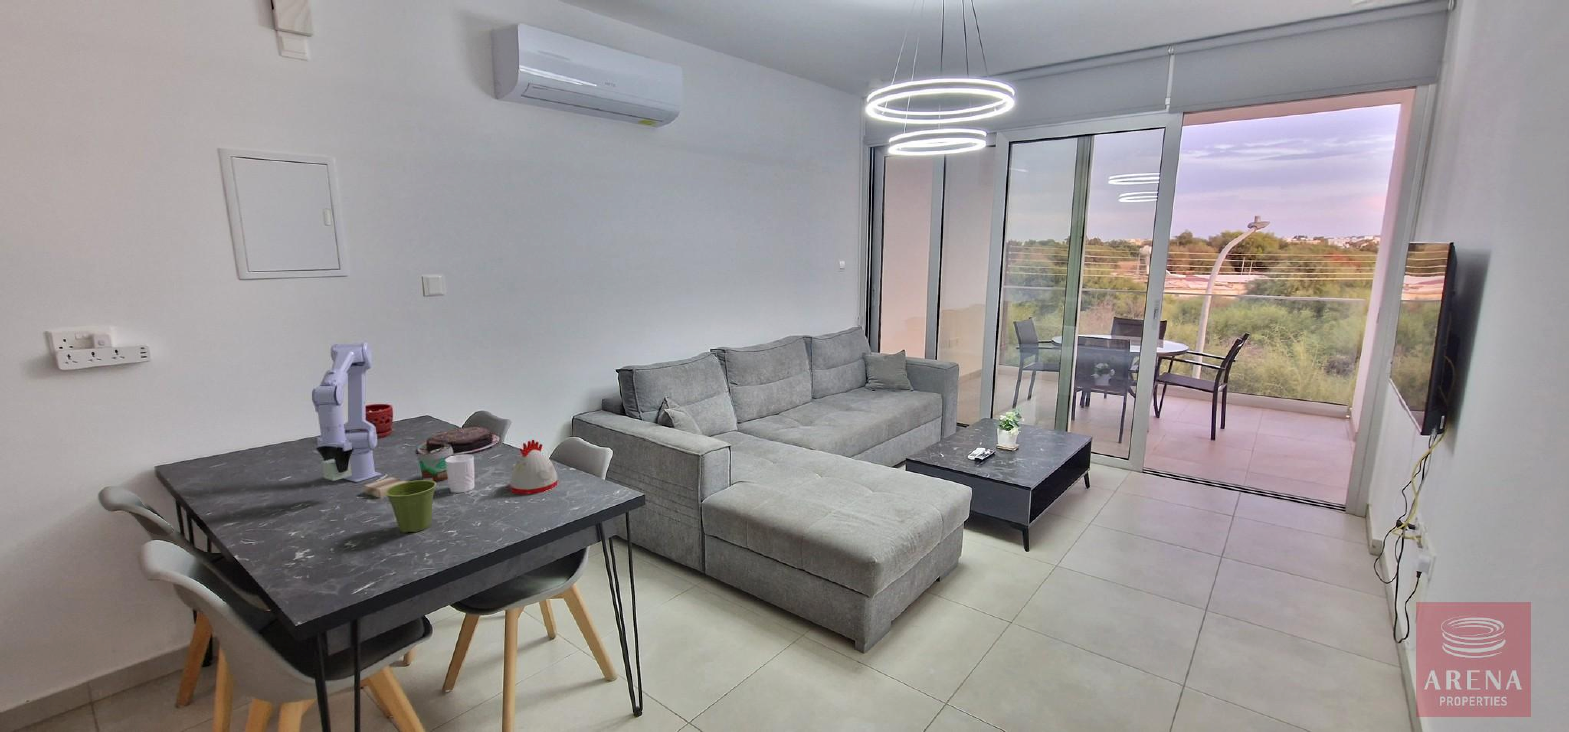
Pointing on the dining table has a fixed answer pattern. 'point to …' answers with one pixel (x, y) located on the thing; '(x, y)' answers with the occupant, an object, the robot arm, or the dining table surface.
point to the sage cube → (334, 470)
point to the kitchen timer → (532, 471)
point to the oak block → (381, 487)
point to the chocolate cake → (461, 440)
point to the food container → (435, 463)
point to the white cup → (460, 472)
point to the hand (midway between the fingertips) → (337, 470)
